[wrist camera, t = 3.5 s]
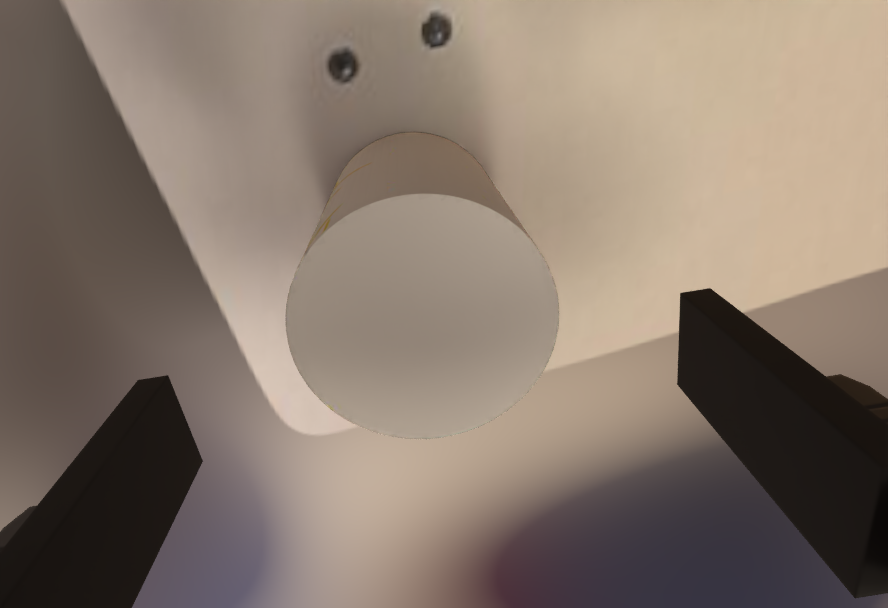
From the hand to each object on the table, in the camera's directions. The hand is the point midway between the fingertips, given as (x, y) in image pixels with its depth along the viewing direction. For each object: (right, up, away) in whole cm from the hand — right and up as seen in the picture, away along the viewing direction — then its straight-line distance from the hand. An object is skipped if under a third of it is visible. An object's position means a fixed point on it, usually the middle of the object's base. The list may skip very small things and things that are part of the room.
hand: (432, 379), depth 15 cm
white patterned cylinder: (-1, +6, +13) cm, 15 cm away
